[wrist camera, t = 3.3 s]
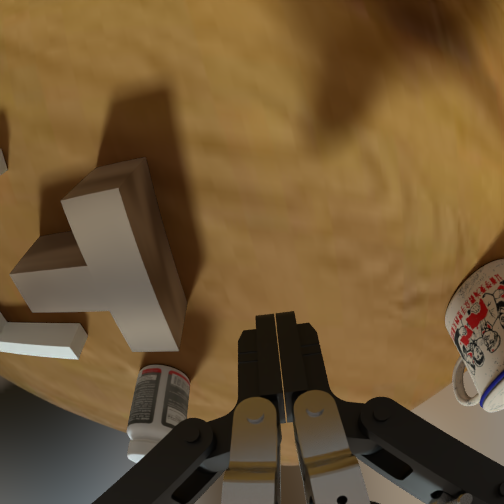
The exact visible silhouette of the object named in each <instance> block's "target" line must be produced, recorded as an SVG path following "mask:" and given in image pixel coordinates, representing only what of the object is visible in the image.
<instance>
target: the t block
mask: <svg viewBox="0 0 504 504" xmlns="http://www.w3.org/2000/svg"><path fill="white" fill-rule="evenodd" d="M61 203H62V206H63V209H64V211H65V214H66V217H67V219H68V222H69V224H70V227H71V229H72V231H68V232H62V233H57V234H51V235H46V236H40V237H39V238H38V239H37V240H36V242H35V243H34V244H33V245H32V246H31V248H30V249H29V250H28V251H27V252H26V254H25V255H24V256H23V257H22V259H21V260H20V261H19V262H18V264H17V265H16V266H15V268H14V269H13V270H12V271H11V273H10V276H11V278H12V280H13V282H14V283H15V285H16V287H17V288H18V290H19V292H20V293H21V295H22V297H23V298H24V300H25V302H26V303H27V305H28V306H29V308H30V310H31V311H32V313H37V312H90V311H110V313H111V315H112V316H113V318H114V320H115V322H116V324H117V326H118V327H119V329H120V331H121V333H122V334H123V336H124V338H125V340H126V341H127V343H128V345H129V347H130V348H131V350H132V352H159V351H179V349H180V343H181V337H182V331H183V325H184V319H185V314H186V308H187V301H186V298H185V295H184V291H183V288H182V285H181V282H180V279H179V276H178V273H177V269H176V266H175V263H174V260H173V256H172V253H171V250H170V246H169V243H168V239H167V236H166V232H165V229H164V225H163V222H162V218H161V215H160V211H159V207H158V203H157V200H156V196H155V192H154V188H153V184H152V180H151V176H150V172H149V168H148V164H147V160H146V157H143V158H138V159H133V160H128V161H123V162H119V163H115V164H110V165H106V166H102V167H97V168H95V169H94V170H93V171H92V172H91V173H89V174H88V175H87V176H86V177H85V178H84V179H83V180H82V181H81V182H80V183H78V184H77V185H76V186H75V187H74V188H73V189H72V190H71V191H70V192H69V193H68V194H67V195H66V196H65V197H64V198H63V199H62V200H61Z"/></svg>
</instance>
